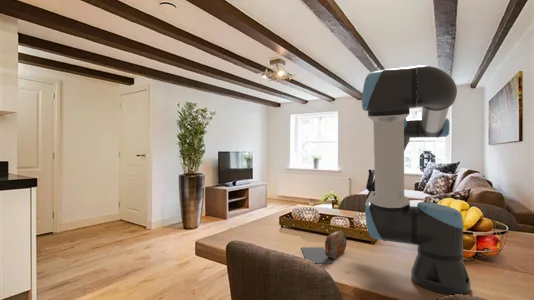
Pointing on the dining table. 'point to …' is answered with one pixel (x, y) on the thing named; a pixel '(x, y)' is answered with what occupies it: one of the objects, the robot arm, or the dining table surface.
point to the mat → (316, 255)
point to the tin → (335, 244)
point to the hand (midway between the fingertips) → (367, 206)
